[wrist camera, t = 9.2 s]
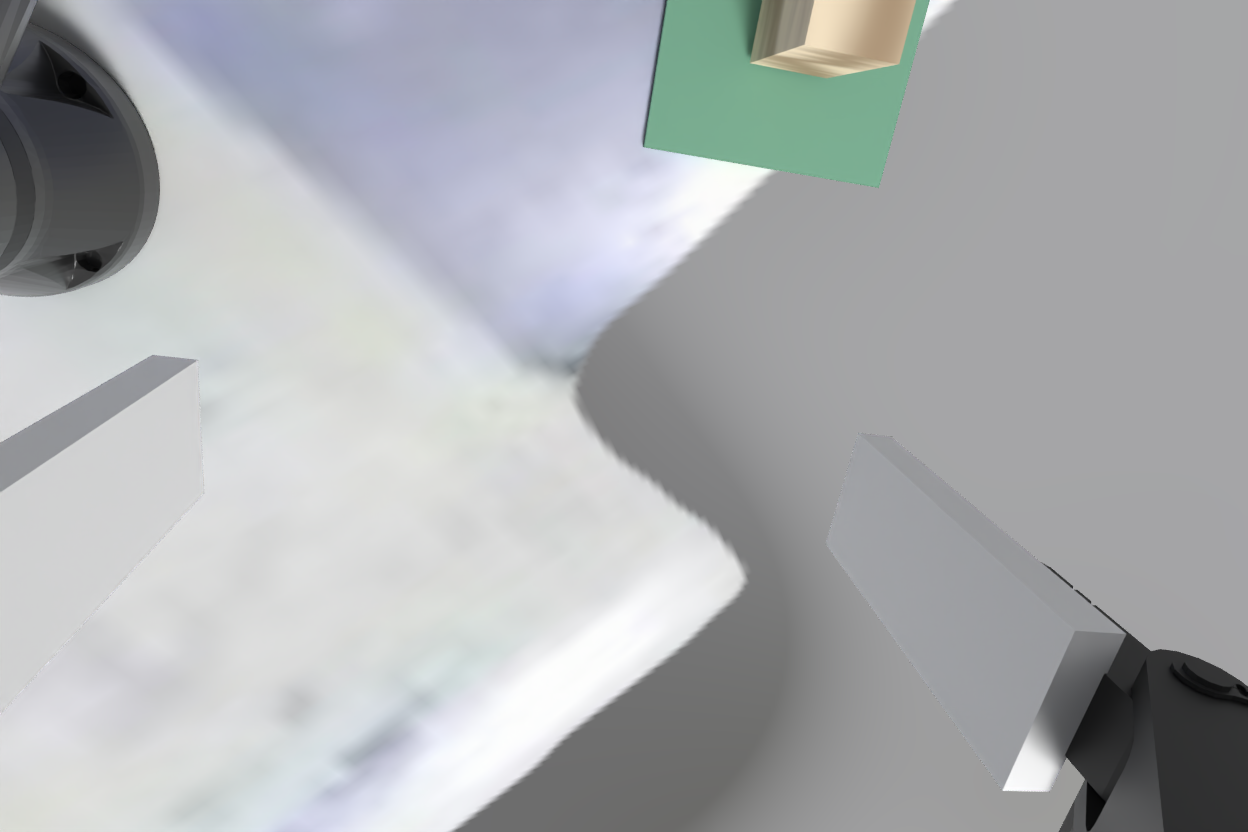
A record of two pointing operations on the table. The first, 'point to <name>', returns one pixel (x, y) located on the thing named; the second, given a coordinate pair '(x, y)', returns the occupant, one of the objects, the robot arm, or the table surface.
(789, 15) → the rod slider
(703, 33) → the pitch mat
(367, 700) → the table surface
